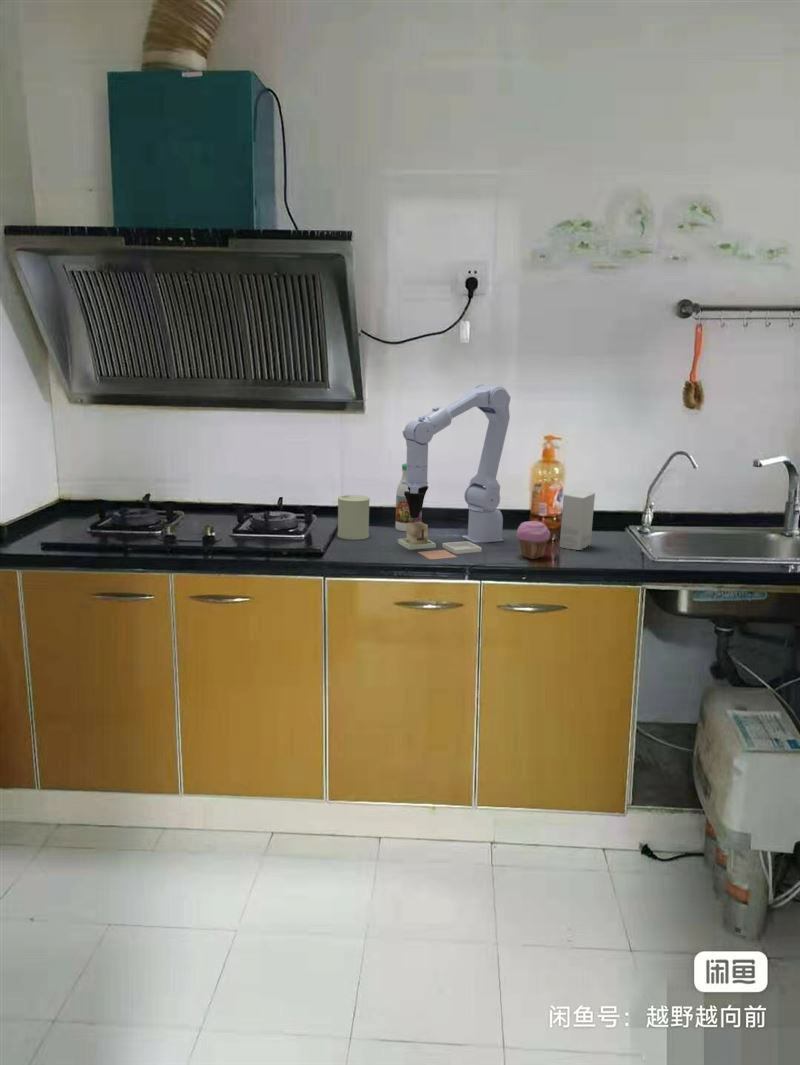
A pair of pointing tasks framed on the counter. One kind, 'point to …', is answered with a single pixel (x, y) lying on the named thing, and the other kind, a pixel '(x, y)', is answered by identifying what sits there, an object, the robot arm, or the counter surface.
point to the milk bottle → (403, 505)
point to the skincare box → (577, 519)
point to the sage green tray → (417, 546)
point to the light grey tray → (461, 547)
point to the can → (353, 517)
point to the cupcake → (533, 538)
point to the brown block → (417, 533)
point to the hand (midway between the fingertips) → (415, 514)
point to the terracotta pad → (437, 554)
